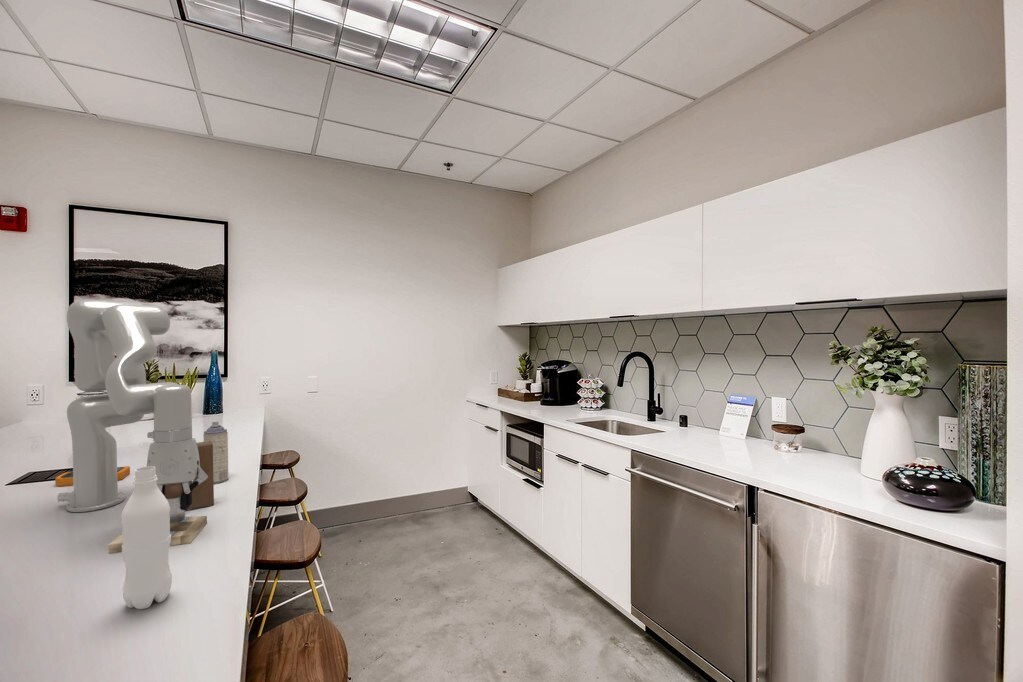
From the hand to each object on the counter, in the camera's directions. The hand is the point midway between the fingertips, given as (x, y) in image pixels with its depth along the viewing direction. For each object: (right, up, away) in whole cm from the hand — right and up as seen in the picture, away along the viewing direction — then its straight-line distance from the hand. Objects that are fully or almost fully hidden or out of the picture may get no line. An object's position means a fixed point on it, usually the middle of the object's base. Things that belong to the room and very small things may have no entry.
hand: (175, 508), depth 114 cm
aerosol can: (-16, -6, +41) cm, 45 cm away
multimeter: (-59, -6, +42) cm, 73 cm away
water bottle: (+15, -7, -28) cm, 32 cm away
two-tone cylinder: (0, -3, 0) cm, 3 cm away
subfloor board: (-3, -7, -1) cm, 7 cm away
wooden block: (-8, -6, +19) cm, 21 cm away
